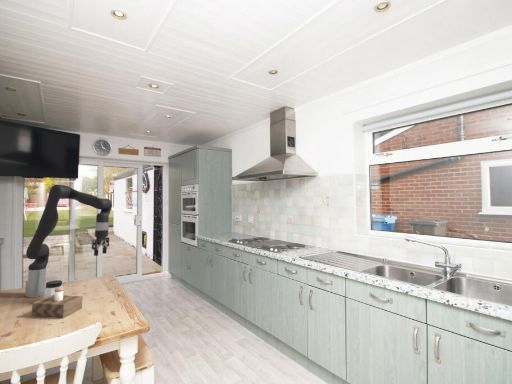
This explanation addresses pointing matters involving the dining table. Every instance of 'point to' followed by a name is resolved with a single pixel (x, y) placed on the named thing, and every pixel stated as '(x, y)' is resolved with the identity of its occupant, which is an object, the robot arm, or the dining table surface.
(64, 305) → the socket block
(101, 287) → the dining table surface
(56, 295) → the plug
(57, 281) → the jar
